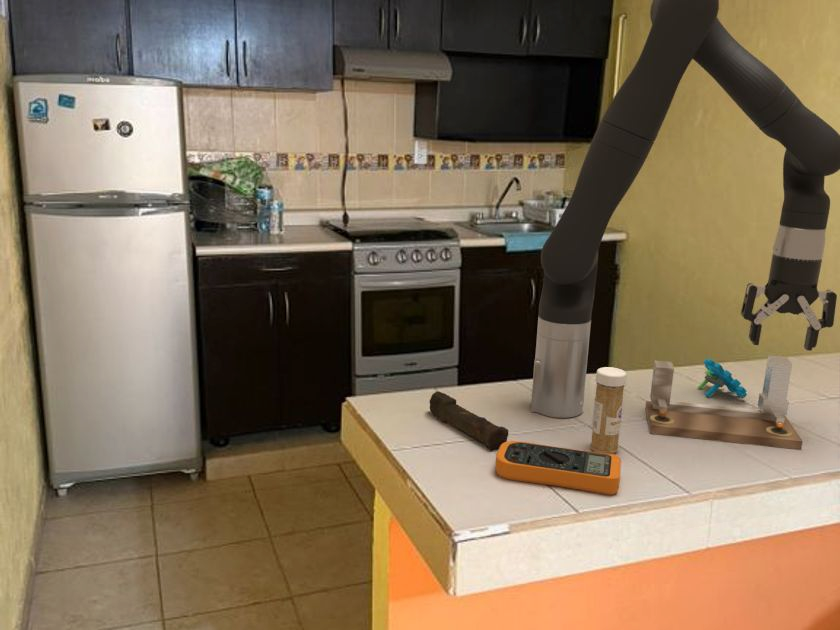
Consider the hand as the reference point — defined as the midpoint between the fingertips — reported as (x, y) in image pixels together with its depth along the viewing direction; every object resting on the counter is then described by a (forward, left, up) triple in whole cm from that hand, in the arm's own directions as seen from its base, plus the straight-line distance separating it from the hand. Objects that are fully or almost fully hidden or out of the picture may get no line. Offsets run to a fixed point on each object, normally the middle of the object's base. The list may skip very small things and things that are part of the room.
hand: (781, 346), depth 134 cm
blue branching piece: (-6, +15, -15) cm, 22 cm away
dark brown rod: (-52, -17, -15) cm, 57 cm away
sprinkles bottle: (-29, -18, -15) cm, 37 cm away
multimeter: (-36, -29, -15) cm, 49 cm away
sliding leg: (0, -2, -13) cm, 13 cm away
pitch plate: (-9, -3, -15) cm, 18 cm away
